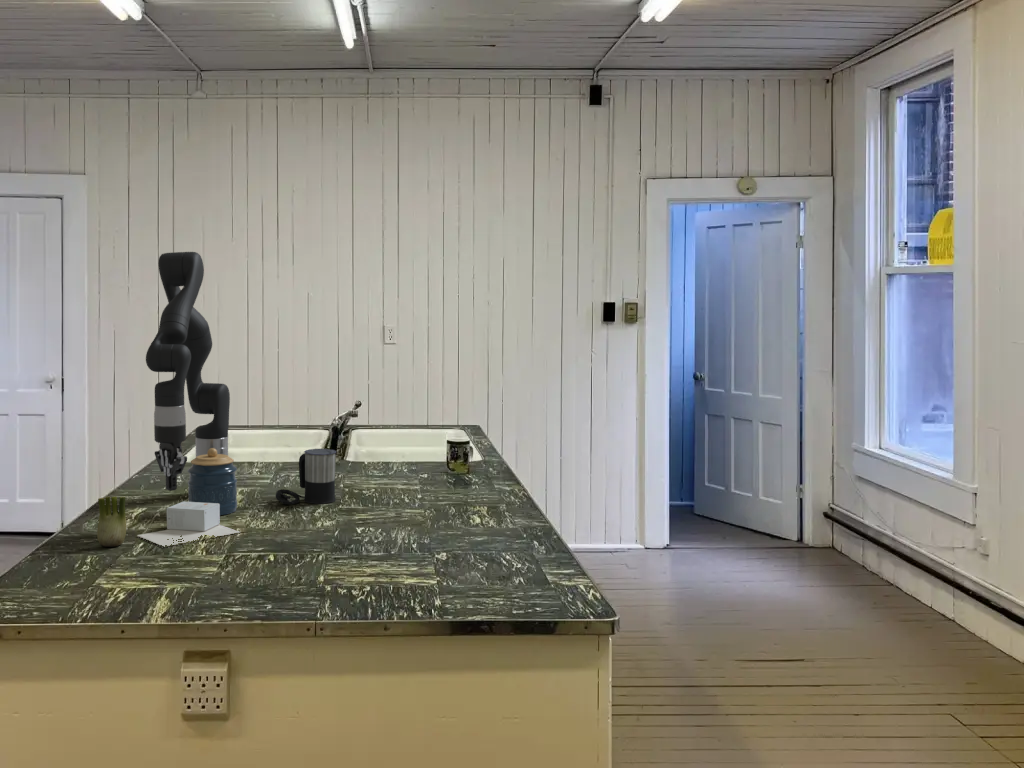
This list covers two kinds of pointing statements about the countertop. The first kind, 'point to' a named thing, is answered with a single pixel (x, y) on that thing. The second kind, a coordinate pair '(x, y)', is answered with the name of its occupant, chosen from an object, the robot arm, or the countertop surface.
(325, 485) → the milk frother
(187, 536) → the mat
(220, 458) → the canister
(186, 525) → the small box
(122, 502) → the fennel bulb
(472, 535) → the countertop surface
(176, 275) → the robot arm
